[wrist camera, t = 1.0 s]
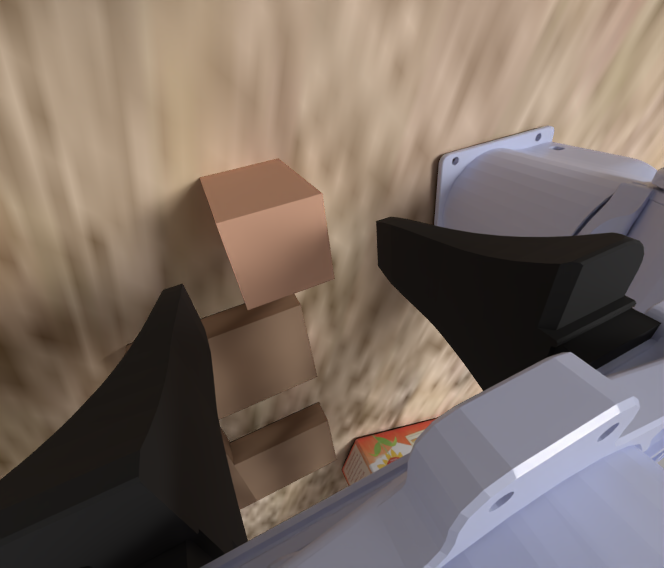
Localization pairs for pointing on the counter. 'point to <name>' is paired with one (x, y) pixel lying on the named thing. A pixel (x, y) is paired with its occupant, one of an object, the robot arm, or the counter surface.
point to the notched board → (266, 395)
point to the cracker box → (380, 450)
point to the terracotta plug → (270, 230)
